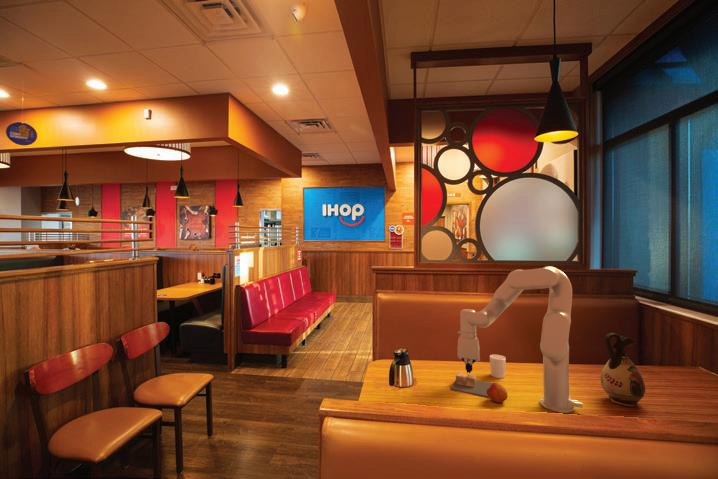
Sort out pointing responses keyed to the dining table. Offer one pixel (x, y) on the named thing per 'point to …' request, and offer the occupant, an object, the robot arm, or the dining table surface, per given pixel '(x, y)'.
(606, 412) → the dining table surface
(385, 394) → the dining table surface
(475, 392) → the rubber mat
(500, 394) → the fruit
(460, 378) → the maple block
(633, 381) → the ceramic jug
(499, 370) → the white cup
